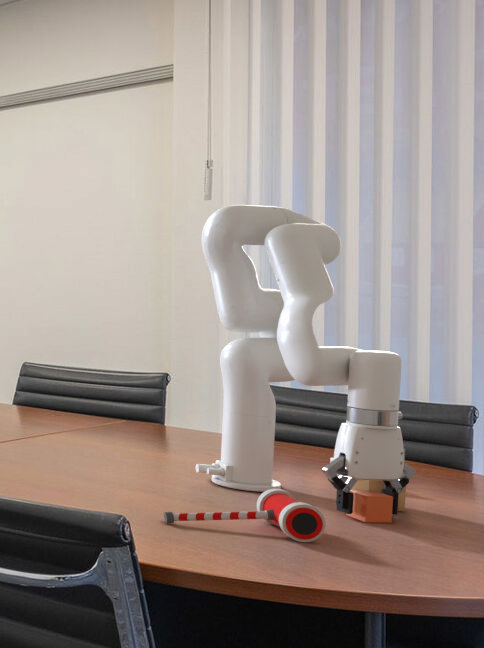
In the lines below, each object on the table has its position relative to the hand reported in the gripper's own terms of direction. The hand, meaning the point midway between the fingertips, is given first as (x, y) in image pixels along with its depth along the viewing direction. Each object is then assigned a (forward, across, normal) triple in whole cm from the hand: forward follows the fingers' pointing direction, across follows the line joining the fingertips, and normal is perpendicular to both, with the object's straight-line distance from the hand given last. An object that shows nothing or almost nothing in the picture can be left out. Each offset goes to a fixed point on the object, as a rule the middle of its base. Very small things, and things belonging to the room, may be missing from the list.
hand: (366, 511), depth 156 cm
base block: (+1, -9, -9) cm, 12 cm away
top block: (+1, 0, 0) cm, 1 cm away
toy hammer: (+1, +27, +8) cm, 28 cm away
